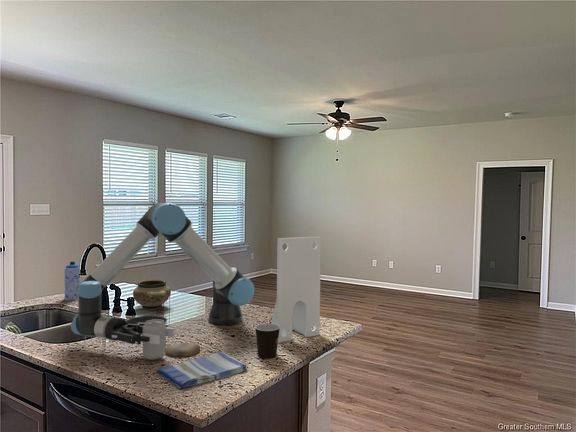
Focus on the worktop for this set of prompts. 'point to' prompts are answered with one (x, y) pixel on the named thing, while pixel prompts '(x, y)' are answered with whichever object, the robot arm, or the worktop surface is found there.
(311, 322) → the arched white panel
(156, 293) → the ceramic bowl
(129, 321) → the frying pan
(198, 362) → the dish towel
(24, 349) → the worktop surface
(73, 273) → the aerosol can
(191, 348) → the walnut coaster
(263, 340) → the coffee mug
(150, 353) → the can
